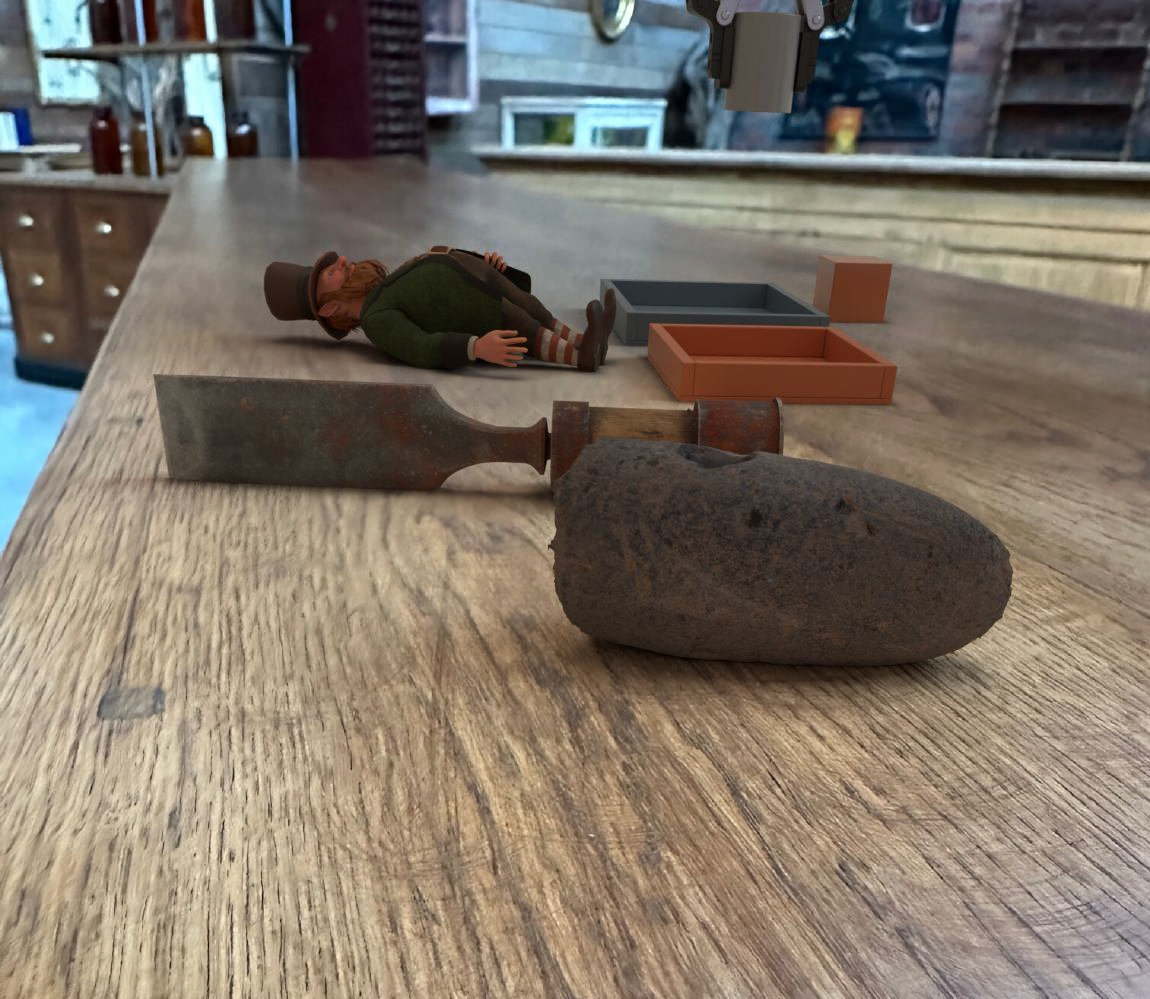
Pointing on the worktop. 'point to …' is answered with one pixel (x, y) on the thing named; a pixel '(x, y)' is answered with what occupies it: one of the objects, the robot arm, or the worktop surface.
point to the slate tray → (704, 305)
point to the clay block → (852, 288)
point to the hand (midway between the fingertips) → (759, 89)
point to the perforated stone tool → (768, 558)
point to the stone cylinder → (763, 62)
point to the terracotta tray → (768, 364)
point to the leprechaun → (438, 309)
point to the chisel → (406, 432)
